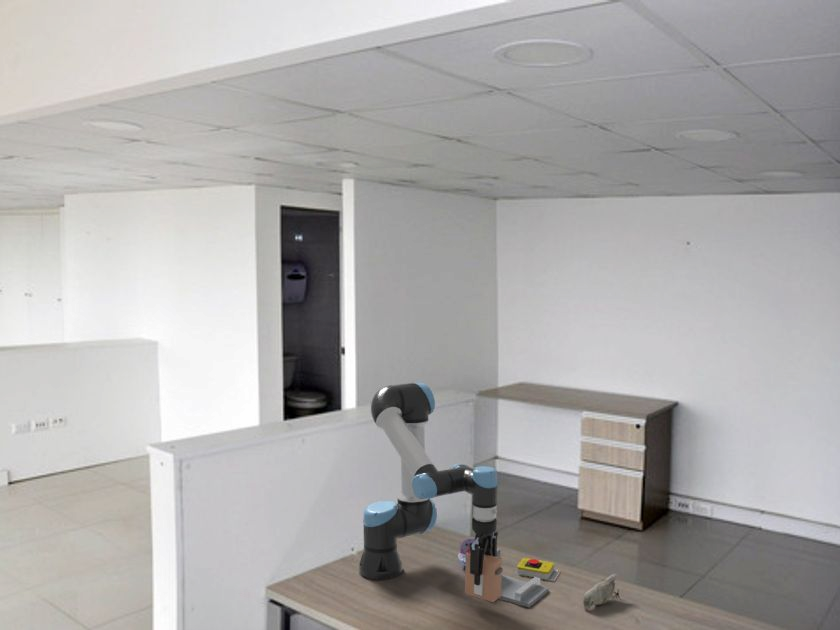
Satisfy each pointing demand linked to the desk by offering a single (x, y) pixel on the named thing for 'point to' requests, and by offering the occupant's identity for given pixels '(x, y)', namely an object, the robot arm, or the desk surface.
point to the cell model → (465, 549)
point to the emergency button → (537, 569)
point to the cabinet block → (486, 578)
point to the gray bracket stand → (513, 585)
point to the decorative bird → (600, 592)
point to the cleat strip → (527, 589)
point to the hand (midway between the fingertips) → (483, 590)
